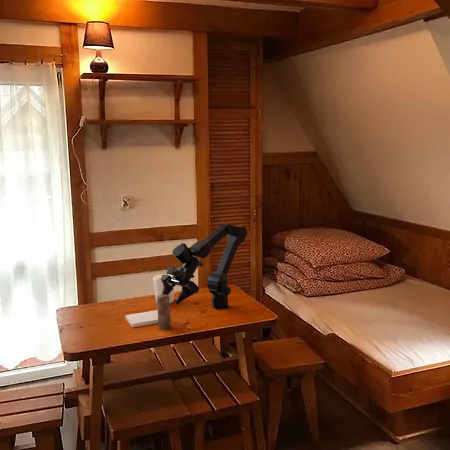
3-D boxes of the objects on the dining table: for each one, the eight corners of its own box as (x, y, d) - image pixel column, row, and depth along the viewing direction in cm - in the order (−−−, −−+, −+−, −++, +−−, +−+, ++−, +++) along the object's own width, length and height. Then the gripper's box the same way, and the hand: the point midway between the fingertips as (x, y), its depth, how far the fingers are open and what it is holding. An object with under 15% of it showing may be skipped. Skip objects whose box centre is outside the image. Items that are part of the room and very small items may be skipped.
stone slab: (161, 312, 235) (161, 309, 235) (169, 320, 224) (169, 317, 224) (125, 318, 229) (125, 315, 229) (132, 327, 218) (131, 323, 218)
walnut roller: (168, 324, 220) (167, 293, 218) (172, 328, 216) (170, 297, 214) (157, 326, 219) (155, 295, 216) (160, 330, 214) (158, 299, 212)
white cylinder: (157, 298, 257) (156, 273, 254) (177, 298, 255) (176, 273, 253) (152, 304, 247) (150, 279, 245) (172, 304, 246) (171, 279, 244)
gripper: (162, 255, 225) (143, 286, 219) (192, 262, 212) (172, 295, 206) (177, 270, 232) (159, 300, 226) (207, 277, 219) (188, 309, 213)
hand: (169, 301), depth 218 cm, fingers open, 9 cm apart
